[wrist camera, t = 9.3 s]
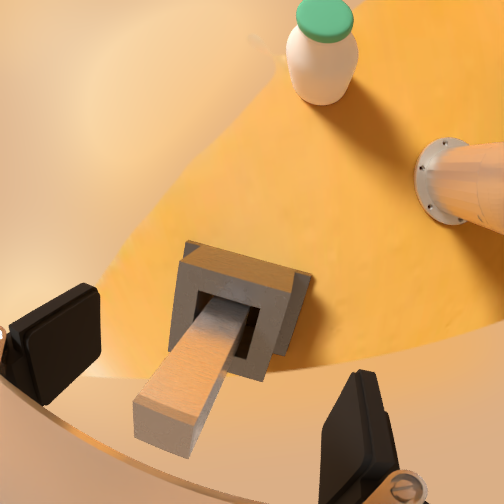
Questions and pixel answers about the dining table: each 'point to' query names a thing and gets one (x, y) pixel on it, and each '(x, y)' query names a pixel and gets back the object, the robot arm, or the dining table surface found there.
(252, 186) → the dining table surface
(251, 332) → the housing
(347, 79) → the milk bottle
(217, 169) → the dining table surface
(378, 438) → the robot arm
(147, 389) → the column
